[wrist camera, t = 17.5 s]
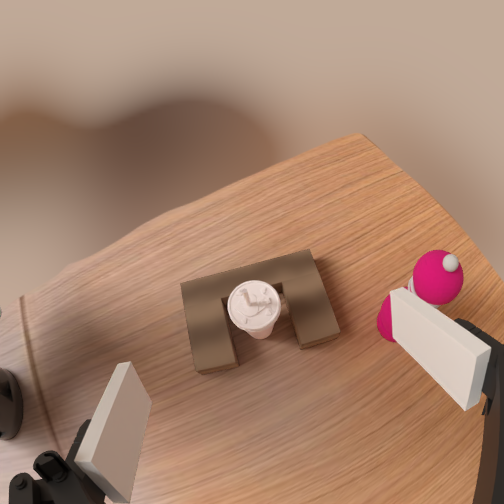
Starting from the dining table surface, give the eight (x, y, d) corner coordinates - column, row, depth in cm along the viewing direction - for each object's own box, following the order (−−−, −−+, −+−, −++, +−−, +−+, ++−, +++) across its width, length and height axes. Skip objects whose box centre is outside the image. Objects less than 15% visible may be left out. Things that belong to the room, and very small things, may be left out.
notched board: (336, 338, 43) (340, 331, 40) (202, 374, 42) (195, 371, 39) (308, 259, 50) (309, 248, 47) (186, 292, 49) (180, 283, 46)
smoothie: (234, 311, 47) (216, 269, 35) (276, 302, 47) (272, 257, 35) (242, 352, 43) (224, 324, 31) (286, 342, 43) (286, 310, 31)
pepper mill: (412, 299, 44) (471, 227, 27) (419, 343, 41) (490, 290, 23) (371, 302, 45) (415, 227, 28) (375, 347, 41) (431, 295, 24)
